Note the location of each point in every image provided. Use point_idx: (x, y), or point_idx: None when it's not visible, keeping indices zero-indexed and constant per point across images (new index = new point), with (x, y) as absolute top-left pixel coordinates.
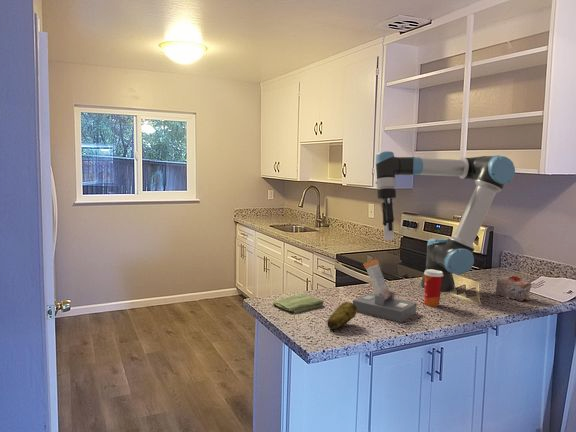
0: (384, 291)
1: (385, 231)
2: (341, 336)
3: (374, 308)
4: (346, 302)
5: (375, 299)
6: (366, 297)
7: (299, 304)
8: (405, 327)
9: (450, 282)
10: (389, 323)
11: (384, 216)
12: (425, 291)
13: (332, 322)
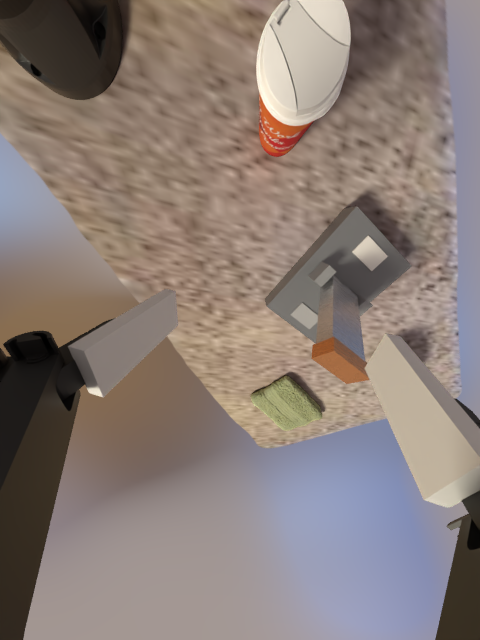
0: (348, 297)
1: (139, 350)
2: (425, 363)
3: None
4: None
5: None
6: (305, 320)
7: (312, 410)
8: (422, 259)
9: None
10: (393, 285)
11: (45, 527)
12: (289, 144)
13: None
